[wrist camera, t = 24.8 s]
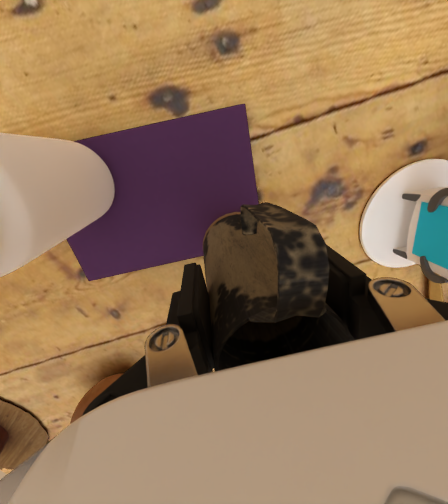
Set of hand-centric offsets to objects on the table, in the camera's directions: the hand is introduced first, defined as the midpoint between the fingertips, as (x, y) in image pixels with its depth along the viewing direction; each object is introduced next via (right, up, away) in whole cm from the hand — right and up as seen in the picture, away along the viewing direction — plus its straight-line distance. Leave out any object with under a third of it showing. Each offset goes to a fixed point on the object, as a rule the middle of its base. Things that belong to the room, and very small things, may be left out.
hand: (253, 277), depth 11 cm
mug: (-1, +3, +6) cm, 7 cm away
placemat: (-8, +6, +9) cm, 13 cm away
